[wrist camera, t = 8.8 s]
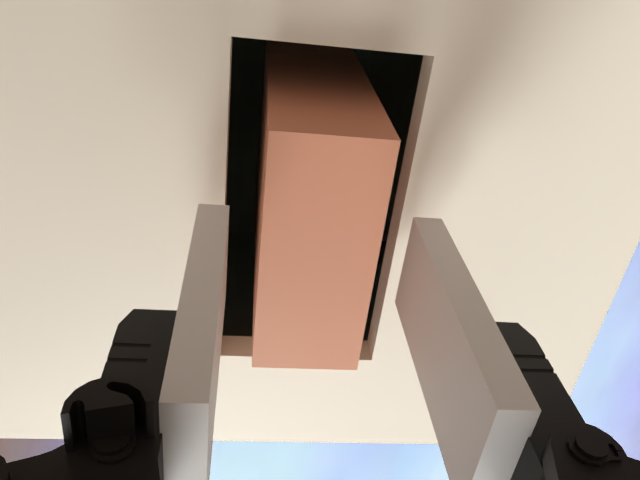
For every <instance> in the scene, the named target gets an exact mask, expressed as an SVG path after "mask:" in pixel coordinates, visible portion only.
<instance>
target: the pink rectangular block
mask: <svg viewBox="0 0 640 480" xmlns="http://www.w3.org/2000/svg"><path fill="white" fill-rule="evenodd" d="M400 143H401V140H400V138H399V136H398V134H397V132H396V130H395V129H394V127H393V125H392V123H391V121H390V119H389V117H388V115H387V113H386V111H385V109H384V107H383V106H382V104H381V102H380V100H379V98H378V96H377V94H376V92H375V90H374V88H373V86H372V85H371V83H370V81H369V79H368V77H367V75H366V73H365V71H364V69H363V67H362V65H361V64H360V62H359V60H358V58H357V56H356V54H355V52H354V50H353V48H344V47H334V46H324V45H314V44H303V43H293V42H283V41H272V40H266V49H265V64H264V80H263V95H262V110H261V126H260V141H259V157H258V172H257V188H256V204H255V248H254V291H253V335H252V367H260V368H297V369H333V370H357V368H358V362H359V357H360V352H361V347H362V341H363V336H364V331H365V326H366V320H367V315H368V310H369V305H370V300H371V294H372V289H373V284H374V279H375V273H376V268H377V263H378V258H379V252H380V247H381V242H382V237H383V231H384V226H385V221H386V216H387V211H388V205H389V200H390V195H391V190H392V184H393V179H394V174H395V169H396V163H397V158H398V153H399V148H400Z"/></svg>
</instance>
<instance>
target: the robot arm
mask: <svg viewBox="0 0 640 480" xmlns="http://www.w3.org/2000/svg"><path fill="white" fill-rule="evenodd" d="M229 207H230V206H229V205H213V204H198V208H197V213H196V218H195V223H194V228H193V233H192V238H191V243H190V248H189V253H188V258H187V263H186V268H185V273H184V278H183V283H182V288H181V293H180V298H179V303H178V308H177V311H176V310H151V309H133V310H132V311H131V312H130V313H129V314H128V315H127V316H126V317H125V318H124V319H123V320H122V321H121V322H120V323H119V324H118V326H117V329H116V332H115V335H114V338H113V342H112V346H111V348H110V351H109V354H108V357H107V362H106V363H105V366H104V369H103V372H102V375H101V378H99V379H96V380H92V381H89V382H87V383H86V384H84V385H82V386H80V387H79V388H77V389H75V390H74V391H73V392H72V393H71V395H70V396H69V397H68V398H67V399H66V400H65V401H64V404H63V407H62V410H61V413H60V416H61V423H62V430H63V436H64V443H65V444H64V445H62V446H60V447H58V448H56V449H54V450H53V451H50V452H47V453H44V454H41V455H38V456H34V457H30V458H26V459H22V460H18V461H14V462H10V463H6V461H5V459H4V458H3V457H2V456H1V455H0V480H209V475H210V464H211V453H212V442H213V431H214V420H215V409H216V398H217V387H218V376H219V365H220V354H221V343H222V332H223V321H224V310H225V299H226V281H227V256H228V232H229ZM395 304H396V308H397V311H398V314H399V317H400V321H401V324H402V327H403V330H404V334H405V337H406V340H407V343H408V347H409V350H410V353H411V356H412V360H413V363H414V366H415V369H416V373H417V376H418V379H419V382H420V386H421V389H422V392H423V395H424V399H425V402H426V405H427V408H428V412H429V415H430V418H431V421H432V425H433V428H434V431H435V434H436V438H437V441H438V444H439V447H440V451H441V454H442V457H443V460H444V464H445V467H446V470H447V473H448V477H449V480H640V461H639V460H635V459H632V458H630V457H627V455H626V454H625V452H624V450H623V448H622V447H621V446H620V445H619V444H618V443H617V442H616V441H615V440H614V439H613V438H612V437H611V436H610V435H609V434H607V433H605V432H604V431H602V430H600V429H599V428H597V427H595V426H592V425H589V424H586V423H585V422H584V420H583V418H582V417H581V415H580V413H579V411H578V410H577V408H576V406H575V405H574V403H573V401H572V400H571V398H570V396H569V394H568V393H567V391H566V389H565V388H564V386H563V384H562V383H561V381H560V379H559V377H558V376H557V374H556V373H554V369H553V367H552V366H551V364H550V362H549V360H548V359H546V358H545V356H546V355H545V354H544V352H543V350H542V349H541V347H540V345H539V343H538V342H537V340H536V338H535V337H534V336H532V335H531V334H530V333H529V332H528V331H527V330H526V329H524V328H523V327H522V326H521V325H520V324H519V323H514V322H495V320H494V318H493V316H492V314H491V312H490V311H489V309H488V307H487V305H486V303H485V301H484V299H483V297H482V295H481V293H480V291H479V289H478V287H477V286H476V284H475V282H474V280H473V278H472V276H471V274H470V272H469V270H468V268H467V266H466V264H465V262H464V260H463V259H462V257H461V255H460V253H459V251H458V249H457V247H456V245H455V243H454V241H453V239H452V237H451V235H450V234H449V232H448V230H447V228H446V226H445V224H444V222H443V220H442V219H439V218H423V217H413V221H412V225H411V230H410V235H409V239H408V244H407V248H406V253H405V258H404V262H403V267H402V271H401V276H400V281H399V285H398V290H397V294H396V299H395Z"/></svg>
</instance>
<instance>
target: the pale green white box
mask: <svg viewBox="0 0 640 480" xmlns="http://www.w3.org/2000/svg"><path fill="white" fill-rule="evenodd" d="M266 40H272V41H283V42H293V43H303V44H314V45H324V46H334V47H344V48H353V50H354V52H355V54H356V56H357V58H358V60H359V62H360V64H361V65H362V67H363V69H364V71H365V73H366V75H367V77H368V79H369V81H370V83H371V85H372V86H373V88H374V90H375V92H376V94H377V96H378V98H379V100H380V102H381V104H382V106H383V107H384V109H385V111H386V113H387V115H388V117H389V119H390V121H391V123H392V125H393V127H394V129H395V130H396V132H397V134H398V136H399V138H400V140H401V143H400V148H399V153H398V158H397V163H396V169H395V174H394V179H393V184H392V190H391V195H390V200H389V205H388V211H387V216H386V221H385V226H384V231H383V237H382V242H381V247H380V252H379V258H378V263H377V268H376V273H375V279H374V284H373V289H372V294H371V300H370V305H369V310H368V315H367V320H366V326H365V331H364V336H363V341H362V347H361V352H360V357H359V362H358V368H357V370H333V369H297V368H260V367H252V335H253V291H254V248H255V204H256V188H257V172H258V157H259V141H260V126H261V110H262V95H263V80H264V64H265V49H266ZM198 204H213V205H229V206H230V207H229V232H228V256H227V281H226V299H225V310H224V321H223V332H222V343H221V354H220V365H219V376H218V387H217V398H216V409H215V420H214V431H213V441H253V442H327V443H401V444H438V441H437V438H436V434H435V431H434V428H433V425H432V421H431V418H430V415H429V412H428V408H427V405H426V402H425V399H424V395H423V392H422V389H421V386H420V382H419V379H418V376H417V373H416V369H415V366H414V363H413V360H412V356H411V353H410V350H409V347H408V343H407V340H406V337H405V334H404V330H403V327H402V324H401V321H400V317H399V314H398V311H397V308H396V304H395V299H396V294H397V290H398V285H399V281H400V276H401V271H402V267H403V262H404V258H405V253H406V248H407V244H408V239H409V235H410V230H411V225H412V221H413V217H423V218H439V219H442V220H443V222H444V224H445V226H446V228H447V230H448V232H449V234H450V235H451V237H452V239H453V241H454V243H455V245H456V247H457V249H458V251H459V253H460V255H461V257H462V259H463V260H464V262H465V264H466V266H467V268H468V270H469V272H470V274H471V276H472V278H473V280H474V282H475V284H476V286H477V287H478V289H479V291H480V293H481V295H482V297H483V299H484V301H485V303H486V305H487V307H488V309H489V311H490V312H491V314H492V316H493V318H494V320H495V322H514V323H519V324H520V325H521V326H522V327H523V328H524V329H526V330H527V331H528V332H529V333H530V334H531V335H532V336H534V337H535V338H536V340H537V342H538V343H539V345H540V347H541V349H542V350H543V352H544V354H545V355H546V356H545V358H546V359H548V360H549V362H550V364H551V366H552V367H553V369H554V373H556V374H557V376H558V377H559V379H560V381H561V383H562V384H563V386H564V388H565V389H566V391H567V393H568V394H569V396H570V395H571V393H572V391H573V389H574V386H575V384H576V382H577V380H578V377H579V375H580V373H581V371H582V368H583V366H584V364H585V362H586V359H587V357H588V355H589V353H590V350H591V348H592V346H593V344H594V341H595V339H596V337H597V335H598V332H599V330H600V328H601V326H602V323H603V321H604V319H605V317H606V314H607V312H608V310H609V308H610V305H611V303H612V301H613V299H614V296H615V294H616V292H617V290H618V287H619V285H620V283H621V281H622V278H623V276H624V274H625V272H626V269H627V267H628V265H629V263H630V260H631V258H632V256H633V254H634V251H635V249H636V247H637V245H638V242H639V240H640V0H0V438H30V439H64V436H63V430H62V423H61V416H60V413H61V410H62V407H63V404H64V401H65V400H66V399H67V398H68V397H69V396H70V395H71V393H72V392H73V391H74V390H75V389H77V388H79V387H80V386H82V385H84V384H86V383H87V382H89V381H92V380H96V379H99V378H101V375H102V372H103V369H104V366H105V363H106V362H107V357H108V354H109V351H110V348H111V346H112V342H113V338H114V335H115V332H116V329H117V326H118V324H119V323H120V322H121V321H122V320H123V319H124V318H125V317H126V316H127V315H128V314H129V313H130V312H131V311H132V310H133V309H151V310H176V311H177V308H178V303H179V298H180V293H181V288H182V283H183V278H184V273H185V268H186V263H187V258H188V253H189V248H190V243H191V238H192V233H193V228H194V223H195V218H196V213H197V208H198Z"/></svg>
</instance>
